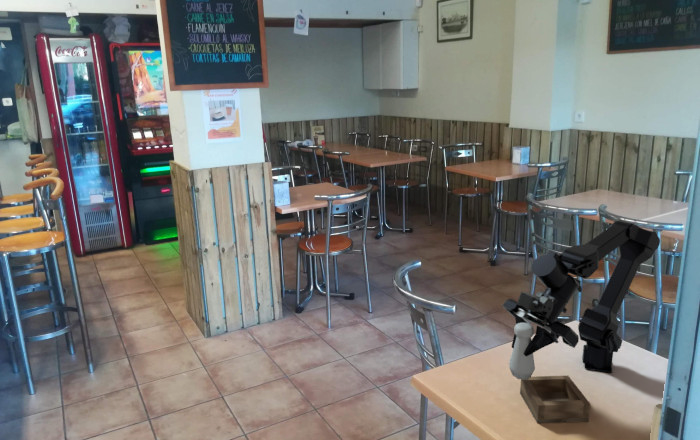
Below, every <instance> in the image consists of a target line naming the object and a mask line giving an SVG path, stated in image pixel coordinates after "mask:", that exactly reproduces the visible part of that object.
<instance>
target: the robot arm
mask: <svg viewBox="0 0 700 440" xmlns="http://www.w3.org/2000/svg"><path fill="white" fill-rule="evenodd" d="M660 243H661V239H660V237H659V236H658V233H657V232H656V231H654V230H650V229H649V230H648V229H644V228H642V227H640V226H639V225H637V224H635V223H633V222H628V221H624V220H614V222H613V223H612V224H611V226H610V227H608V228H606V229H605V230H604V231H602V232H601V233H600V234H598V235H597V236H596V237H594V238H592V239H591V240H589V241H588V242H586V243H585V244H579V245H577V244H576V245H573V246H571V247H568V248H567V249H565V250H563V252H561V253H560V254H558V253H557V252H554V251H551V250H549V251H548V252H547V253H546V254H543V255H540V256H539V257H536V259H534V260H533V261H532V263H531V266H530V268H531V269H530V270H531V272H532V274H534V276H535V277H536V278H537V279H538V280H539V281H540V283H541V284H543V286H545V289H544V290H543V291H540V290H539V291H537V292H536V294H531V293H528V292H525V291H521V292H520V294H519V296H518V300H515V299H513V298H508V299H506V300H505V301H504V303H502V308H504V309H505V310H506V311H507V312H508V313H509V314H510V316H512V317H513V318H514V319H515V325H516V324H518V323H528V324H530V325H531V324H532V323H533V324H535V325H536V330H535V333H534V335H533V336H532V337H533V338H531V342H530V343H529V345H528V346H527V348H526V350H525V352H524V355H525V356H529V355H530V354H532V353H533V354H534V353H536V352H537V351H539V350H541V349H543V348H545V347H547V346H549V345H552V344H554V343H555V344H558V343H559V341H558V339H559V338H560V337H561V338H562V342H563V344H565V345H567V346H569V347H571V348H574V349H575V348H576V346H577V345H578V343H579V342H580V341H583V342H585V344H584V345H583V349H582V355H581V356H582V358H581V359H582V360H581V361H582V364H584V365H583V366H584V369H586V370H591V371H598V372H604V373H610V374H612V373H613V359H614V357H613V356H614V353H618V352H619V350H620V349H621V347H622V343H623V340H622V338H621V337H620V336H619V334H618V333H617V332H618V329H619V324H618V323H619V322H618V321H619V320H618V317H617V315H618V313H619V311H620V308H621V306H622V303H623V302H624V300H625V297H626V296H627V293H628V291H629V289H630V287H631V284H632V283H633V280H634V279H635V276H636V274H637V271H638V270H639V268H640V266H641V265H642V264H643V263H645V262H646V261H648V260H649V259H651V258H652V257H653V255H654V253H655V252H656V250H658V249H659V246H660ZM618 248H619V254H620V257H619V259H618V261H617V263H616V264H615V266H614V269H613V272H612V274H611V275H610V278H609V280H608V282H607V283H606V285H605V288H604V289H603V293H602V294H601V297H600V299H599V301H598V302H597V304H596V306H594V307H592V308H590V307H587V308H586V309H585V310H584V313H583V315H582V316H581V318H580V320H579V323H578V325H577V328H578V329H577V330H578V334H577V332H575V330H574V329H572V328H571V327H570V326H569V325H567V324H564V323H563V322H560V321H558V320H557V319H558V318H559V316H560V315H561V314H562V313H563V314H566V313H567V311H568V309H567V308H566V306H567V304H568V303H569V302H570V300H571V299H572V297H573V295H575V292H578V293H581V292H583V291H582V289H583V288H582V284H581V282H582V280H579V279H577V278H574V276H576V277H579V278H582V279H588V278H590V277H591V276H592V275H593V274H595V272H596V271H597V270H598V269H599V268H600V267H599V264H600V261H602V260H603V259H604V258H605V257H607V256H608V255H609V254H611V253H612V252H613V251H615V250H616V249H618ZM516 337H517V336H516V335H515V333H514V335H513V338H512V339H513V340H512V343H511V348H512V349H513V348H514V344H515V341H516ZM579 339H580V341H579Z"/></svg>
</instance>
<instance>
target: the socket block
mask: <svg viewBox="0 0 700 440" xmlns="http://www.w3.org/2000/svg"><path fill="white" fill-rule="evenodd" d="M519 395H520V396H521V398H522V400H523V401H524V403H525V405H526V406H527V408H528V409H529V411H530V413H531V415H532V417H533V419H534V420H535V422H536V423H537V424H556V423H557V424H560V423H587V422H589V420H590V419H589V418H590V413H591V411H590V409H591V403H590V401H589V400H588V399H587V397H586V396H585V395H584V394H583V393H582V391H581V390H580V389H579V387H578V386H577V385H576V384H575V382H574V381H573V379H571V377H570V376H569V375H544V376H542V375H541V376H540V375H539V376H531V377H530V378H528V379H526V380H523V379H520V388H519Z"/></svg>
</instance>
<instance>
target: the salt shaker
mask: <svg viewBox="0 0 700 440" xmlns="http://www.w3.org/2000/svg"><path fill="white" fill-rule="evenodd" d="M513 329H514V334H515V335H516V336H517V337H516V341H515V344H514V348H512V352H511V355H510V358H509V362H508V367H509V370H510V373H511V375H512V377H515V378H516V379H517V380H521V379H523V380H526V379H528V378H530V377H532V376H533V374H534V372H535V371H536V370H535V369H536V366H535V358H534V353H532V354H530V355H529V356H525V355H524V352H525V350H526V348H527V346H528V345H529V343H530V342H531V340H532V337H534V336H535V328H534V327H533V325H532V324H531V323H530V324H528V323H518V324H516V323H515V325H514V328H513Z"/></svg>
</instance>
